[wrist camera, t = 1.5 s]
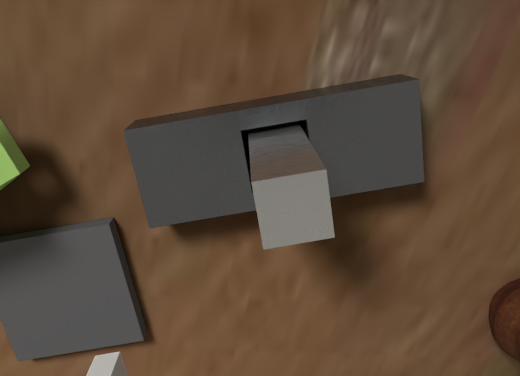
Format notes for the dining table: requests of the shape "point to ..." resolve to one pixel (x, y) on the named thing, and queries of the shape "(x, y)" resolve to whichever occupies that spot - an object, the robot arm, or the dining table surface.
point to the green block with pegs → (10, 158)
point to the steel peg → (288, 186)
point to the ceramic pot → (506, 318)
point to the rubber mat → (67, 290)
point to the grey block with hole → (272, 113)
